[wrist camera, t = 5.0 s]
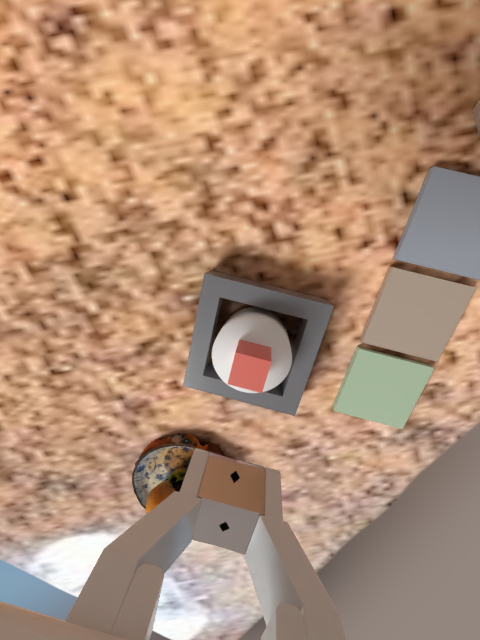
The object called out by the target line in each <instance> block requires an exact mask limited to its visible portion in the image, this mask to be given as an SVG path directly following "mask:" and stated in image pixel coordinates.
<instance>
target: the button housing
mask: <svg viewBox="0 0 480 640" xmlns="http://www.w3.org/2000/svg"><path fill="white" fill-rule="evenodd" d="M223 298H225V299H229V300H232V301H236V302H240V303H244V304H248V305H252V306H256V307H260V308H264V309H268V310H272V311H276V312H279V313H283V314H287V315H291V316H295V317H299V318H302V319H301V322H300V325H299V328H298V331H297V334H296V337H295V341H294V344H293V347H292V350H291V352H292V364H291V368H290V370H289V373H288V374H287V376H286V377H285V379H284V380H283V381H282V382H281V383H280V384H279V385H277V386H276V387H274V388H273V389H271V390H268V391H265V392H262V393H246V392H241V391H238V390H236V389H234V388H232V387H230V386H229V385H227V384H226V383H225V382H224V381H223V380H222V379H221V378H220V377H219V376H218V374H217V372H216V371H215V368H214V366H213V363H209V361H210V357H211V352H212V348H213V343H214V339H215V334H216V330H217V325H218V320H219V316H220V311H221V307H222V302H223ZM333 308H334V306H333V305H332V304H331V303H330V302H329V301H328V300H327V299H323V298H320V297H316V296H312V295H308V294H304V293H300V292H296V291H292V290H288V289H284V288H280V287H276V286H272V285H268V284H264V283H260V282H256V281H252V280H248V279H244V278H240V277H236V276H232V275H228V274H224V273H220V272H216V271H212V270H211V271H209V272H207V273H205V274H204V279H203V284H202V289H201V294H200V300H199V305H198V310H197V315H196V321H195V326H194V331H193V336H192V342H191V347H190V352H189V357H188V363H187V368H186V373H185V378H184V384H183V386H185V387H189V388H193V389H197V390H200V391H204V392H208V393H211V394H215V395H219V396H223V397H226V398H230V399H234V400H238V401H241V402H245V403H249V404H252V405H256V406H260V407H264V408H267V409H271V410H275V411H279V412H282V413H286V414H290V415H293V416H295V414H296V411H297V408H298V406H299V403H300V400H301V397H302V394H303V392H304V389H305V386H306V383H307V380H308V378H309V375H310V372H311V369H312V366H313V364H314V361H315V358H316V355H317V352H318V350H319V347H320V344H321V341H322V339H323V336H324V333H325V330H326V327H327V325H328V322H329V319H330V316H331V313H332V311H333Z"/></svg>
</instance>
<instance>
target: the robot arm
mask: <svg viewBox="0 0 480 640" xmlns="http://www.w3.org/2000/svg"><path fill="white" fill-rule="evenodd" d="M191 540H195V541H199V542H203V543H208V544H212V545H216V546H219V547H222V548H226V549H229V550H232V551H235V552H238V553H241V554H244V555H245V559H246V563H247V566H248V569H249V572H250V575H251V578H252V581H253V585H254V588H255V591H256V594H257V597H258V600H259V603H260V606H261V610H262V613H263V616H264V619H265V622H266V625H267V627H266V629H265V631H264V633H263V635H262V637H261V639H260V640H345V634H344V629H343V624H342V618H341V617H340V615H339V613H338V611H337V609H336V608H335V606H334V604H333V602H332V601H331V599H330V597H329V595H328V593H327V592H326V590H325V588H324V586H323V585H322V583H321V581H320V579H319V577H318V576H317V574H316V572H315V570H314V569H313V567H312V565H311V563H310V561H309V560H308V558H307V556H306V554H305V553H304V551H303V549H302V547H301V545H300V544H299V542H298V540H297V538H296V537H295V535H294V533H293V531H292V530H291V528H290V526H289V524H288V522H285V521H283V515H282V495H281V476H280V472H279V471H278V470H274V469H270V468H266V467H265V468H264V467H263V466H259V465H255V464H252V463H248V462H244V461H240V460H235V459H232V458H228V457H225V456H222V455H218V454H215V453H212V452H210V453H209V452H208V451H204V450H201V449H197V448H196V449H195V450H194V452H193V455H192V458H191V461H190V464H189V466H188V469H187V472H186V475H185V478H184V481H183V483H182V486H181V489H180V492H177V491H174V492H173V493H172V494H171V495H169V496H168V497H167V498H166V499H165V500H163V501H162V502H161V503H160V504H158V505H157V506H156V507H155V508H154V509H152V510H151V511H150V512H149V513H147V514H146V515H145V516H144V517H143V518H141V519H140V520H139V521H138V522H136V523H135V524H134V525H133V526H131V527H130V528H129V529H128V530H127V531H125V532H124V533H123V534H122V535H120V536H119V537H118V538H117V539H116V540H114V541H113V542H112V543H111V544H109V545H108V546H107V547H106V548H105V549H104V550H103V552H102V554H101V555H100V557H99V559H98V561H97V563H96V565H95V567H94V569H93V570H92V572H91V574H90V576H89V578H88V580H87V582H86V584H85V585H84V587H83V589H82V591H81V593H80V595H79V597H78V599H77V600H76V602H75V604H74V606H73V608H72V610H71V612H70V614H69V615H68V618H67V619H66V621H64V620H61V619H57V618H54V617H51V616H47V615H44V614H40V613H37V612H34V611H30V610H27V609H24V608H20V607H17V606H13V605H10V604H7V603H4V602H0V640H150V636H151V633H152V629H153V624H154V620H155V615H156V611H157V606H158V601H159V597H160V592H161V588H162V583H163V578H164V574H165V572H166V571H167V570H168V569H169V568H170V566H171V565H172V564H173V563H174V562H175V560H176V559H177V558H178V557H179V556H180V554H181V553H182V552H183V551H184V550H185V548H186V547H187V546H188V545H189V544H190V543H191Z"/></svg>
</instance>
